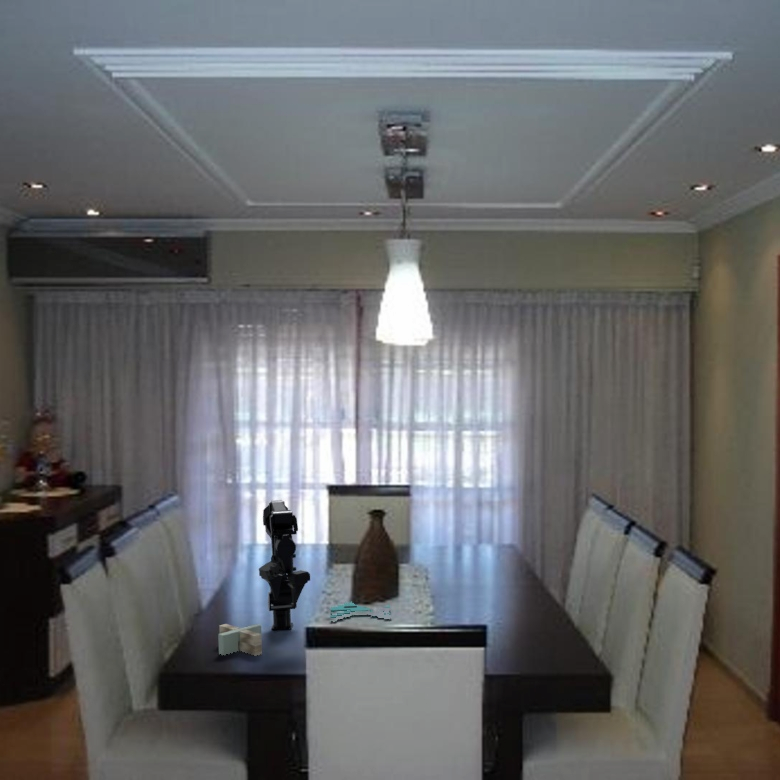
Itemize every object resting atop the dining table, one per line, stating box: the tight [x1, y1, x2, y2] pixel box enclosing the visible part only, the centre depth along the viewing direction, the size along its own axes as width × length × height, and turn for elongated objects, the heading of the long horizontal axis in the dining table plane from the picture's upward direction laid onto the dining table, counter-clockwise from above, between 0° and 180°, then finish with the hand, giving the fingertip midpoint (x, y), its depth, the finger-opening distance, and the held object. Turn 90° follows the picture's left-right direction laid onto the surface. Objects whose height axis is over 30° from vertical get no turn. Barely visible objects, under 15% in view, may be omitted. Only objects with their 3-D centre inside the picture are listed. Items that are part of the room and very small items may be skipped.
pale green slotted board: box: [217, 623, 262, 656], centre depth 293 cm, size 14×2×6 cm, turn 134°
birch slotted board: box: [218, 623, 263, 657], centre depth 293 cm, size 18×2×6 cm, turn 45°
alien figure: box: [329, 601, 392, 619], centre depth 331 cm, size 20×2×20 cm
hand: (285, 601), depth 302 cm, fingers open, 9 cm apart
